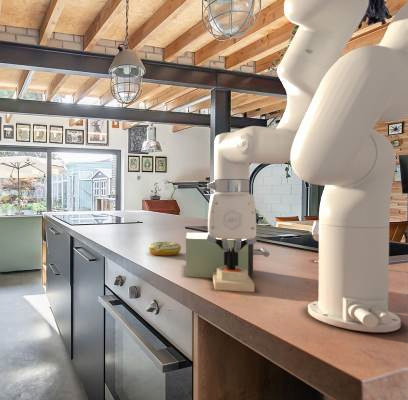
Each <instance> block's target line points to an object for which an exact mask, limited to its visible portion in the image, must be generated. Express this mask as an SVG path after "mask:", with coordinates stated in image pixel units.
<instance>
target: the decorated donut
mask: <svg viewBox="0 0 408 400" xmlns="http://www.w3.org/2000/svg"><path fill="white" fill-rule="evenodd" d="M181 250H182V247H181V244H180V243H177V242H173V241H165V240H163V241H154V242H152V243H150V244H149V245H148V251H149V253H150V254H151V255H152V256H164V257H167V256H169V257H170V256H175V255H178V254H179V253H180V252H181Z"/></svg>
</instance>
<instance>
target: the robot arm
mask: <svg viewBox="0 0 408 400" xmlns="http://www.w3.org/2000/svg"><path fill="white" fill-rule="evenodd" d="M369 3H370V0H284V2H283V12H284V16H285V18H287V20H288V21H289V22H291V23H292V24H294V25H296V26H298V28H297V31H296V32H295V34H294V36H293V38H292V40H291V42H290V43H289V45H288V47H287V50H286V51H285V53H284V55H283V57H282V59H281V61H280V62H279V64H278V66H277V70H276V73H277V76H278V78H279V80H280V81H281V83H282V85H283V87H284V89H285V92H286V97H287V99H286V108H285V110H284V113H283V115H282V117H281V119H280V121H279V122H278V124H277V126H276V127H269V126H259V125H250V126H245V127H243V128H240V129H238V130H235V131H228V132H221V133H220V134H217V135H216V136H215V138H214V143H213V145H214V147H213V149H214V152H213V153H214V159H213V161H214V163H213V167H214V168H213V179H214V180H213V181H212V182H207V190H212V191H213V193H211V194H210V197H209V204H208V213H207V214H208V215H207V233H208V235H207V241H208V242H211V243H214V244H218V245H219V246H220V247H221V248H222V249H223V250H224V265H227V269H228V270H230V269H233V270H235V266H238V252H239V251H240V250H241V249H242V248H243V247H244V246H245V245H249V244H253V245H254V244H256V243H257V211H256V202H255V197H254V194H253V193H252V194H251V193H250V164H260V165H264V164H265V165H282V164H283V165H284V164H285V163H288V162H290V165H291V168H292V171H293V172H294V174H295V175H296V176H297V177H298V178H299V179H300V180H302V181H304V182H306V183H307V184H311V185H316V186H324V189H323V191H322V194H321V199H320V204H319V210H318V211H319V212H318V221H319V242H318V260H319V263H318V299H317V300H314V301H312V302H310V303H309V304H308V305H307V312H308V314H309V315H310V316H311V317H312V318H313V319H316V320H317V321H319V322H321V323H323V324H324V323H325V324H327V325H331V326H333V327H338V328H341V329H346V330H351V331H357V332H358V331H359V332H365V333H391V332H396V331H397V330H399V329H400V328H401V326H402V321H401V320H402V319H401V318H400V317H399V316H398V315H397V314H395V313H393V312H392V311H389V278H390V277H389V272H390V271H389V270H390V269H389V267H390V217H391V212H390V211H391V196H392V189H393V183H394V179H395V173H396V165H397V155H396V151H395V147H394V145H393V144H392V142H391V141H390V139H388V138H387V137H386V136H385V135H384V134H383V133H381V132H379V131H377V130H375V129H374V128H375V126H376V124H377V122H384V123H385V122H386V123H387V122H397V121H400V120H403V119H406V118H407V117H408V0H407V1H406V2H405V3H404V4H403V5H402V7H400V8H399V10H398V11H397V12H396V14H395V15H394V17H392V19H391V21H390V22H389V24H388V26H387V29H386V31H385V33H384V35H383V37H382V38H381V40H380V42H379V44H371V45H370V44H369V45H364V46H363V45H362V46H359V47H356V48H355V49H352V50H350V51H348V52H346V53H345V54H344V55H342V53H343V52H344V50H345V49H346V47H347V46H348V44H349V42H350V41H351V39H352V37H353V35H354V33H355V32H356V30H357V29H358V27H359V25H360V24H361V22H362V20H363V19H364V17H365V15H366V13H367V11H368V8H369V5H370V4H369ZM341 55H342V56H341ZM218 238H219V239H218ZM227 239H234V244H233V248H232V250H231V252H230V249H229V247H228V240H227Z"/></svg>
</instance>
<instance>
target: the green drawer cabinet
mask: <svg viewBox="0 0 408 400" xmlns="http://www.w3.org/2000/svg"><path fill="white" fill-rule="evenodd" d="M207 235H208V232H186V235H185V277H189V278H190V277H191V278H207V279H209V278H211V279H212V272H217V268H219V267H227V265H224V250H223V249H222V248H221V247H220V246H219V245H218V244H214V243H211V242H208V241H207ZM218 239H219V238H218ZM227 240H228V247H229V249H230V252H231V250H232V248H233V244H234V239H227ZM235 267H239V268H243V269H246V270H247V271H248V245H245V246H244V247H243V248H242V249H241V250H240V251H239V252H238V266H235Z"/></svg>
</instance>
